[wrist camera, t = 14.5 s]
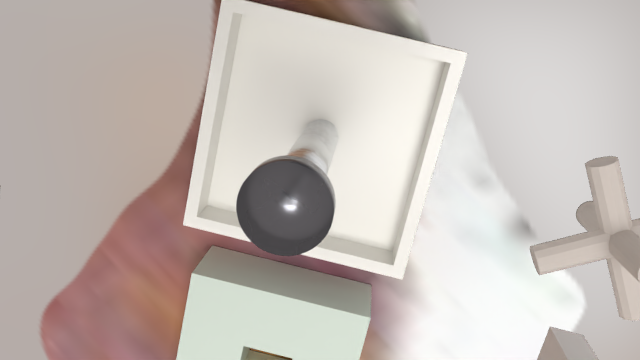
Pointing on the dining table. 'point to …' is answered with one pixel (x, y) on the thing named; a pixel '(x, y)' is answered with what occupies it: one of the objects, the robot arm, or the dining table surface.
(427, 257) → the dining table surface
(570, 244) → the pipe connector
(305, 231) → the steel pin
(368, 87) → the tray
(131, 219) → the dining table surface
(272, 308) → the block
